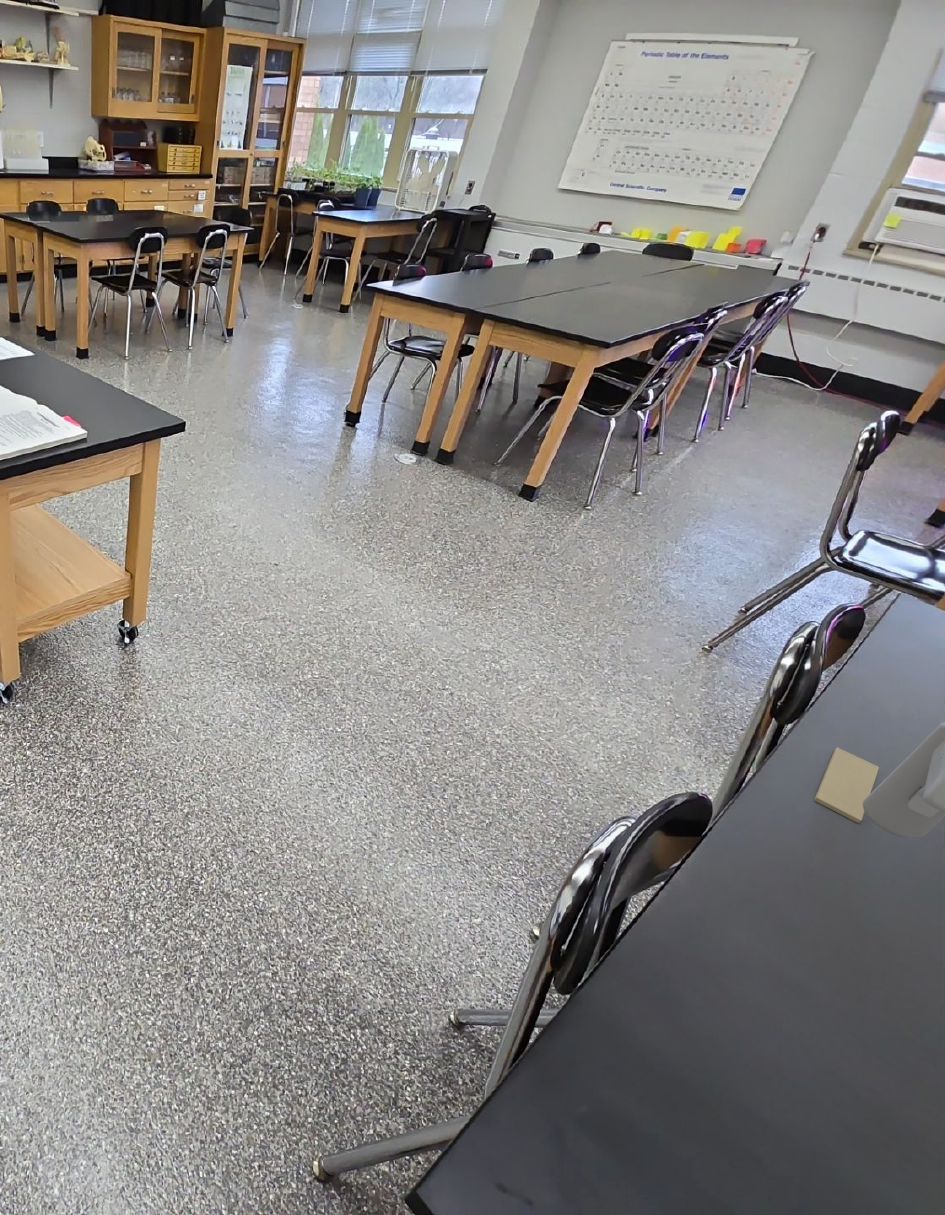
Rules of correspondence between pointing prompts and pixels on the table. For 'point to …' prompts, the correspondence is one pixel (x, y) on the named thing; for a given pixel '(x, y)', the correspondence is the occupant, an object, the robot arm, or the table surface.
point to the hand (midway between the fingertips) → (922, 790)
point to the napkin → (847, 784)
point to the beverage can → (905, 793)
